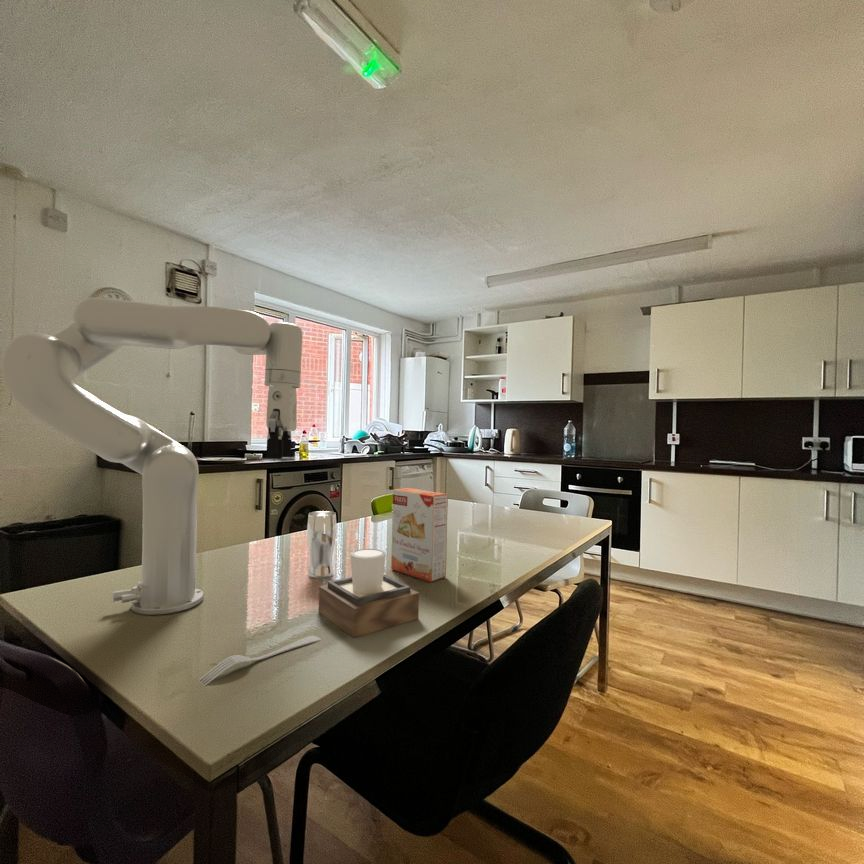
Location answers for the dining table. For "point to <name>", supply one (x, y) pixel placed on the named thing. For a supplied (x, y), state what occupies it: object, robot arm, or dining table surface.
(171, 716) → the dining table surface
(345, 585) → the display plinth
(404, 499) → the cracker box
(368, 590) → the white cylinder
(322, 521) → the beer glass
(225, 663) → the fork
